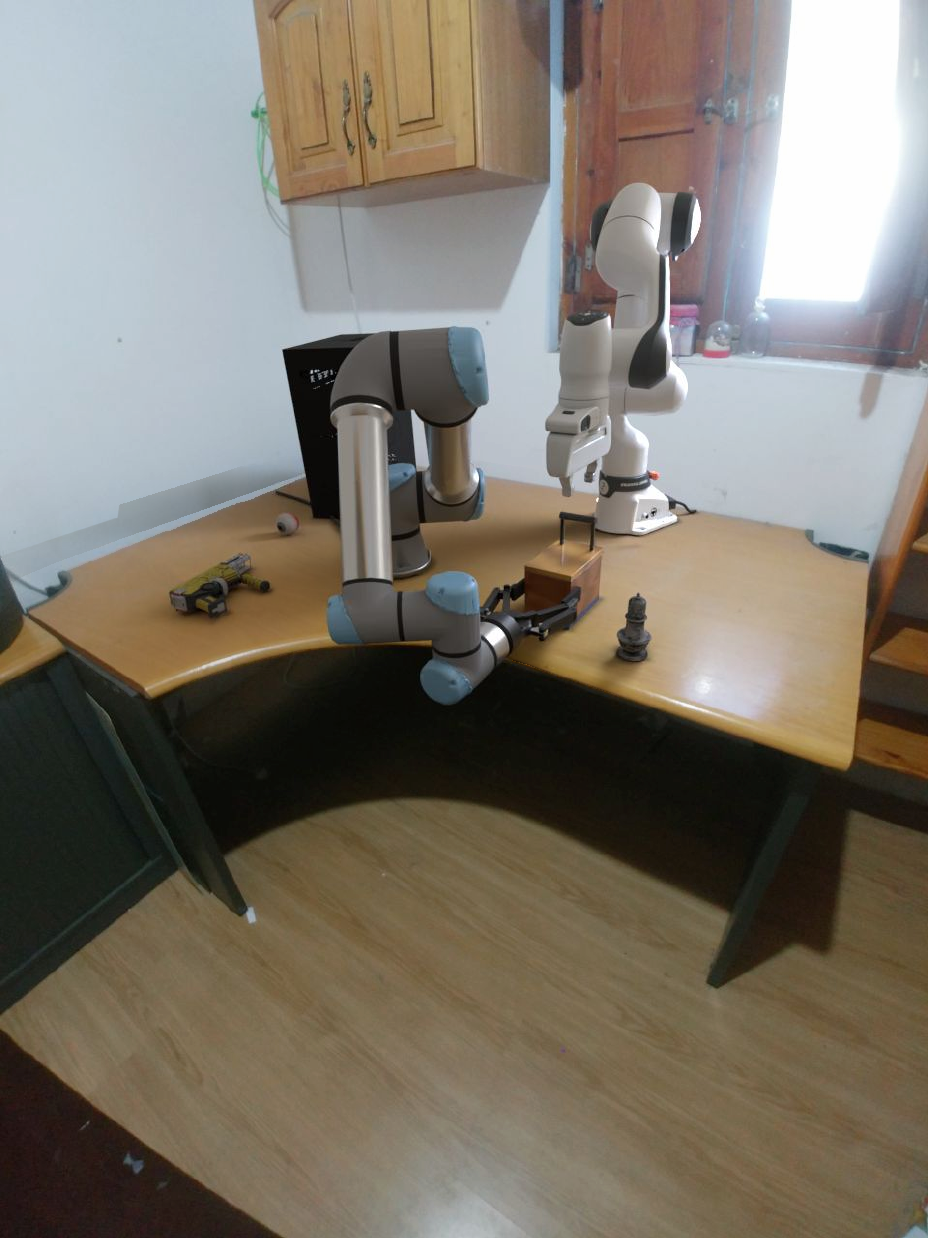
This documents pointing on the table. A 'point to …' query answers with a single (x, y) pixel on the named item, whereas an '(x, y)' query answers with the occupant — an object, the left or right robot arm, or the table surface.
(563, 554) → the lid
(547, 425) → the right robot arm
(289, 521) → the eyeball
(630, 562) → the table surface
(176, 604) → the toy gun
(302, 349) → the black computer case
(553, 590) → the chest
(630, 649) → the grey chess piece
